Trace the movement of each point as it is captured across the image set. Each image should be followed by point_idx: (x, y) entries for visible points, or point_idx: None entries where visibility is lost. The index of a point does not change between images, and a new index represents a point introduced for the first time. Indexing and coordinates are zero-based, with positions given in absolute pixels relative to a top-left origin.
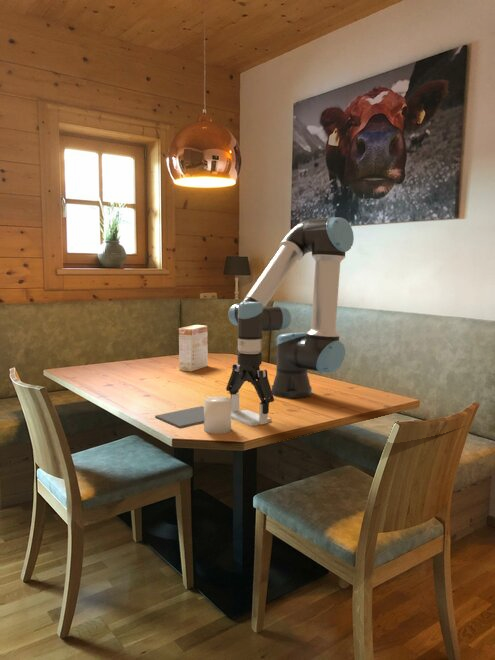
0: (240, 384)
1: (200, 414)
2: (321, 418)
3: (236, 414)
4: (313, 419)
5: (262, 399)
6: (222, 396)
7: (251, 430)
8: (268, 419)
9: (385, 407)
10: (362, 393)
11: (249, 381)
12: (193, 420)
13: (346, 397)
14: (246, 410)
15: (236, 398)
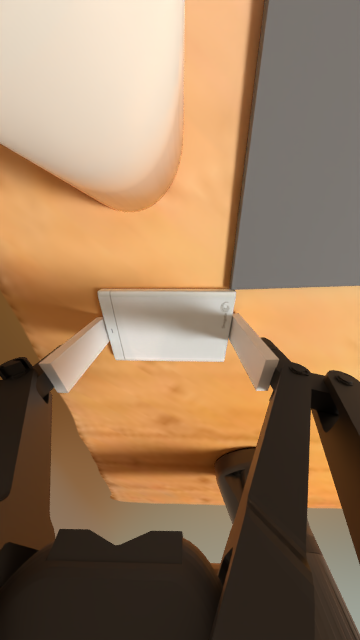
0: (255, 453)
1: (332, 195)
2: (94, 423)
3: (206, 312)
4: (94, 413)
5: (8, 385)
6: (64, 3)
7: (58, 260)
8: (113, 352)
9: (107, 482)
10: (176, 495)
11: (66, 549)
12: (301, 61)
13: (174, 483)
14: (216, 356)
15: (250, 362)
